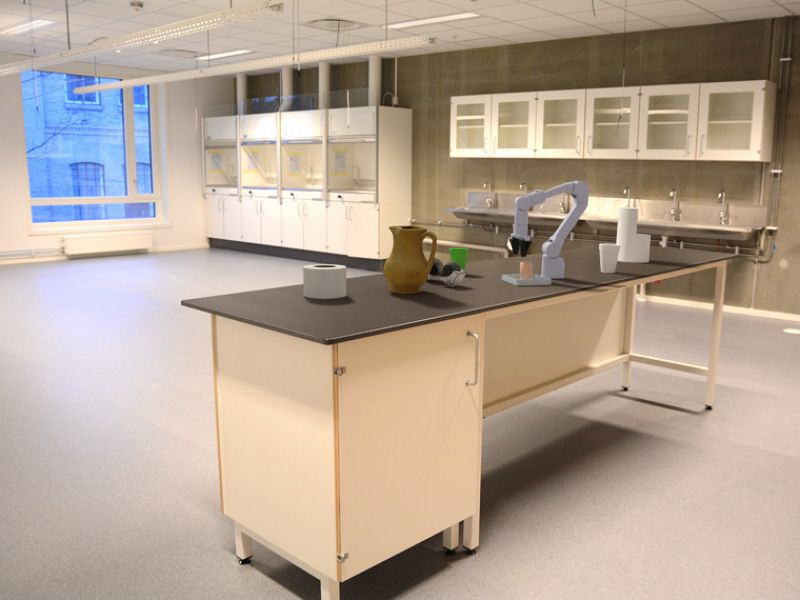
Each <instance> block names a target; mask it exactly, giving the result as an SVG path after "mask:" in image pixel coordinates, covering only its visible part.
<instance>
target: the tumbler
mask: <svg viewBox="0 0 800 600" xmlns="http://www.w3.org/2000/svg"><path fill="white" fill-rule="evenodd" d="M533 270H534V262H532V261H520V265H519V274H520V280H527V279H532V274H534V272H533Z"/></svg>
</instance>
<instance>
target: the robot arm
mask: <svg viewBox="0 0 800 600" xmlns="http://www.w3.org/2000/svg"><path fill="white" fill-rule="evenodd" d="M590 192H591V190H590V187H589V184H588V183H587V182H586V181H584V180H572V181H568V182H564V183H562V184H558V185H556V186H554V187H551V188H549V189H547V190H542V189H537V188H536V189H534V191H533V192H530V193H524V195H523V196H522V195H521V196H518V197H516V198H515V199H514V202H513V205H514V206H513V207H515V209H514V212H515V213H514V220H513V221H514V223H513V224H514V225H513V233H510V238H508V241H509V243H510V245H511V250H512V255H513V256H518V255H519V253H520V257H521V258H527V254H528V251H529V249H530V246H531V244H532V243H533V242H532V240H531V236H530V235H529V234H528V223H529V210H530V208H532V207H536V206H538V205H541V204H543V203H545V202H546V200H547V199H548V198H552V197H555V196H558V195H561V194H564V193H567V194H570V195H571V196H572V200H573V204H574V205H573V206H572V208H571V209H570V211H569V212H568V213H567V214H566V216H565V217H564V219H563V221H562V222H561V223H560V225H559V227H558V228H557V229H556V230H555V232H554V234H553V235H551V236H550V237H549V238H548V240H547V241H545V242H543V244H542V246H541V252H542V253H543V254H542V256H541V257H542V258H541V272H540V273H541V274H539V275H540V276H543V277H546V278H549V279H551V280H552V279H565V278H566V277H565V266H566V264H565V259H564V258H563V257H560V254H561V251H562V247H564V242H565V240H566V239H567V237H568V236H569V234H570V232H572V230H573V228H574V226H575V225H576V224H577V222H578V221H579V219H580V218H581V217H582V215H583V214H584V212H585V211H586V210H587V208H588V205H589V197H590Z"/></svg>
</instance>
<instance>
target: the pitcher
mask: <svg viewBox="0 0 800 600" xmlns="http://www.w3.org/2000/svg"><path fill="white" fill-rule="evenodd" d="M388 229H389V230H390V232H391V234H392V241H393V243H392V249H391V251H390V255H388V258H387V259H386V261H385V262H384V265H383V275H384V277H386V282H387V283H388V284H389V287H390V289H389V290H388V291H389V292H390V293H393V294H399V295H409V294H410V295H411V294H421V293H423V291H422V290H421V289H420V288H421V286H423V285H424V284H425V283H426V282H427V281H428V280H427V279H428V276H429V273H430V270H431V269H432V266H433V262H434V258H435V256H436V253H437V244H438V237H437V235H436V233H435V232H434V231H429V230H428V228H427V227H425V226H419V225H418V226H417V225H415V224H414V225H413V224H411V225H391V226H389V227H388ZM427 237H429V238H430V239H431V242H432V243H431V249H430V255H429V257H428V260H429V261H428V260H427V258H426V256H425V253H424V251H423V249H424V248H423V242H424V240H425V239H426V238H427ZM427 261H428V262H427Z"/></svg>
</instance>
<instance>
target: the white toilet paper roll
mask: <svg viewBox="0 0 800 600" xmlns="http://www.w3.org/2000/svg"><path fill="white" fill-rule="evenodd" d="M302 271H303V276H302V279H303V282H302V283H303V285H302V286H303V297H305V298H308V299H315V300H316V299H318V300H332V299H333V300H334V299H342V298H345V297H346V296H347V266H346V265H341V264H331V263H329V264H328V263H322V264H321V263H319V264H315V263H314V264H307V265H303V269H302Z"/></svg>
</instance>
